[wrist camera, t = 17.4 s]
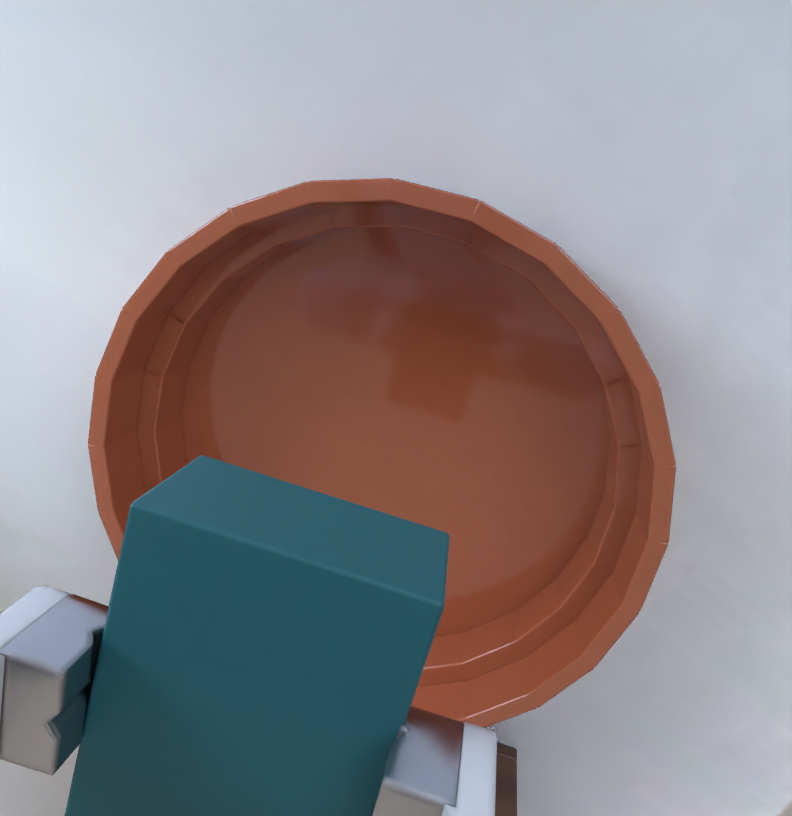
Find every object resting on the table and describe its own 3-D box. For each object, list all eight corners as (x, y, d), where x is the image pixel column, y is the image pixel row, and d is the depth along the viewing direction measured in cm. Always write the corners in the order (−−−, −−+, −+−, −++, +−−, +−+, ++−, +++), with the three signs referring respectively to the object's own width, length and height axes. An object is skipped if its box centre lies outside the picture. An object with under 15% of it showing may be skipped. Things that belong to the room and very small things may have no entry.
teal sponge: (200, 452, 11) (129, 501, 9) (450, 532, 11) (445, 603, 9) (134, 738, 13) (55, 849, 10) (356, 815, 13) (329, 944, 10)
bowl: (195, 130, 23) (122, 109, 19) (726, 264, 21) (780, 276, 17) (133, 579, 28) (65, 643, 24) (551, 714, 27) (559, 808, 22)
